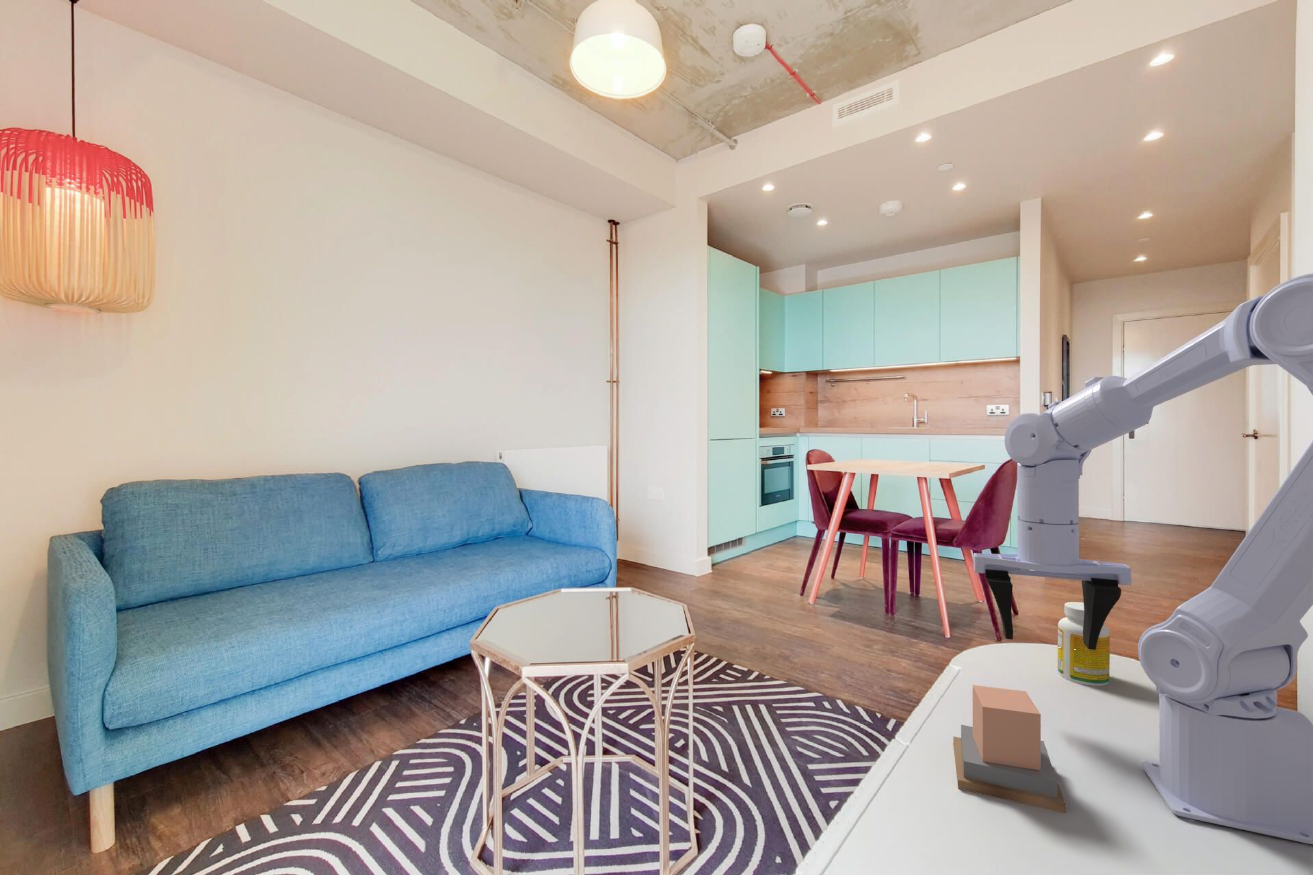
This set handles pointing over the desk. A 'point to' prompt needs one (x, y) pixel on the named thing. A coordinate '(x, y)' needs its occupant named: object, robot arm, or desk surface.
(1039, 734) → the terracotta block
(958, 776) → the tower base
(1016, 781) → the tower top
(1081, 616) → the supplement bottle
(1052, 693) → the desk surface
